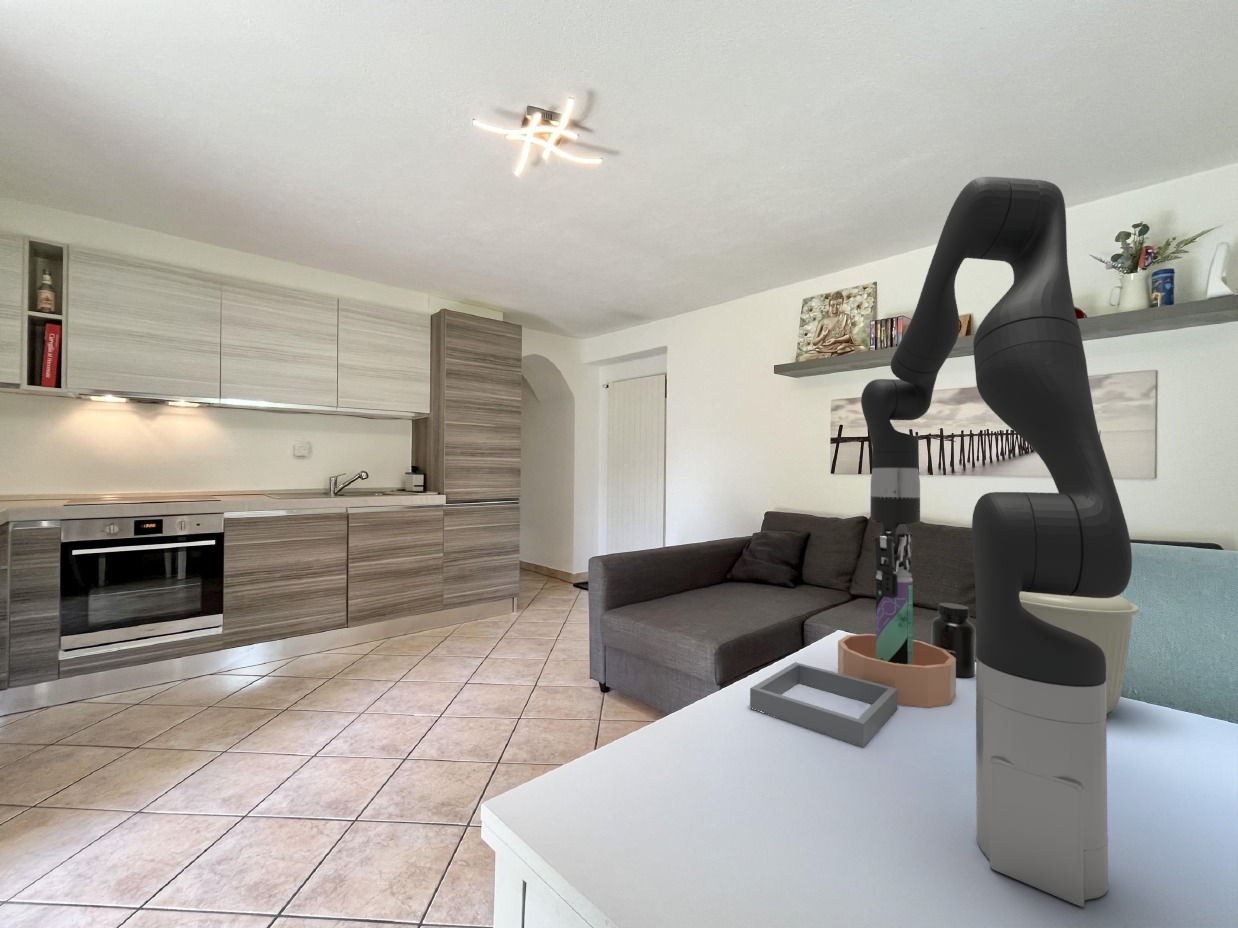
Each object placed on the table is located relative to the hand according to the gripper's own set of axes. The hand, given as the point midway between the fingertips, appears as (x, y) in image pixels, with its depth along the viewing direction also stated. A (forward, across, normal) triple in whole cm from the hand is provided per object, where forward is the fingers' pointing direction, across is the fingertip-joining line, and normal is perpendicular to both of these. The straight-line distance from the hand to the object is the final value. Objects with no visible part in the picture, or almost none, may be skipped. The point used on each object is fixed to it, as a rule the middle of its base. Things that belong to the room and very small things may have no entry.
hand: (894, 593), depth 88 cm
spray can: (+14, 0, 0) cm, 14 cm away
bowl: (+15, 0, 0) cm, 15 cm away
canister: (+16, +12, -21) cm, 29 cm away
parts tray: (+15, -18, +5) cm, 24 cm away
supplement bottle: (+16, +15, -6) cm, 22 cm away
